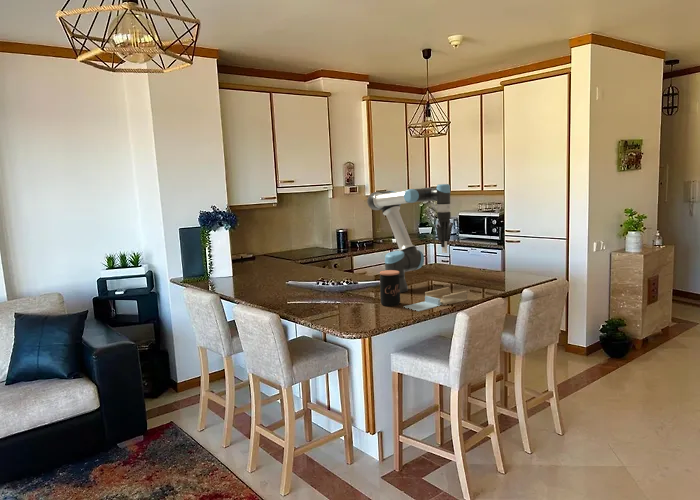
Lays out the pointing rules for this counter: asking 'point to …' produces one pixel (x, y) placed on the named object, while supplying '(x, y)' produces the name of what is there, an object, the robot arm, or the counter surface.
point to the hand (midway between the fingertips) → (444, 252)
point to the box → (447, 296)
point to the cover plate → (425, 304)
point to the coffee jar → (390, 287)
